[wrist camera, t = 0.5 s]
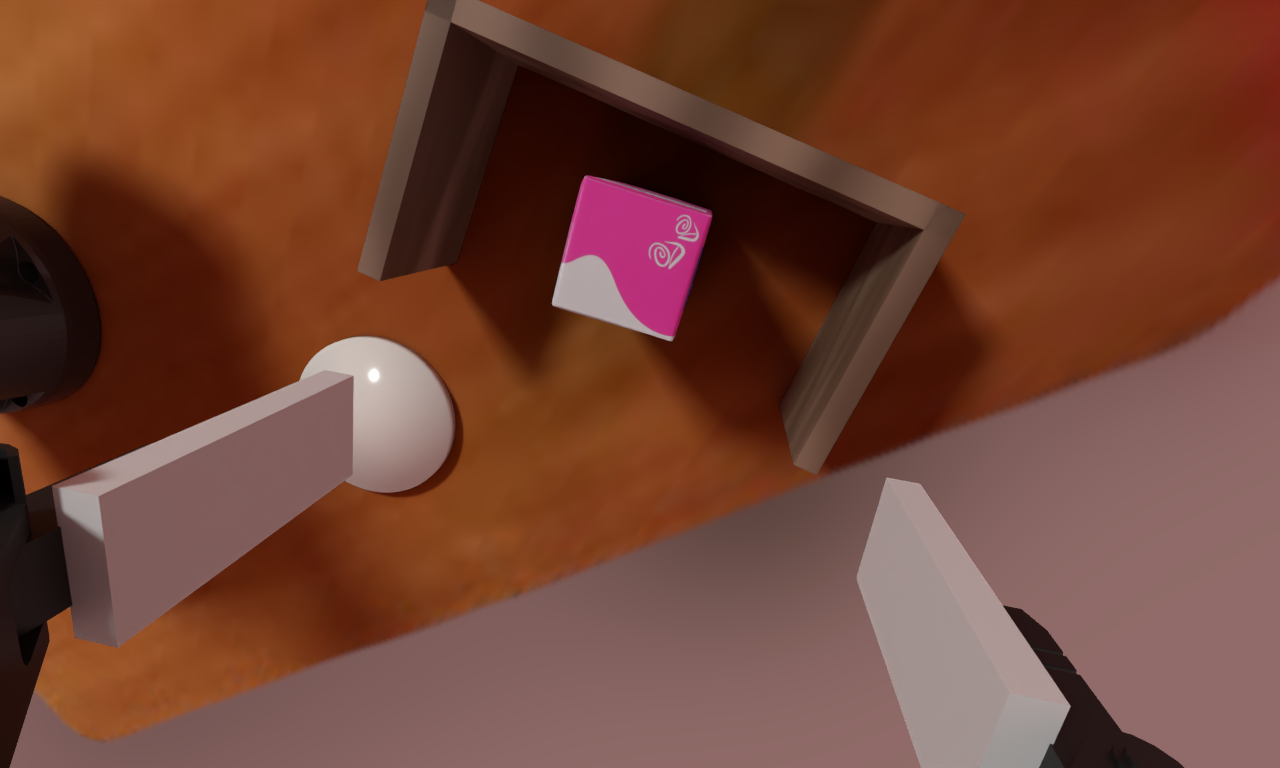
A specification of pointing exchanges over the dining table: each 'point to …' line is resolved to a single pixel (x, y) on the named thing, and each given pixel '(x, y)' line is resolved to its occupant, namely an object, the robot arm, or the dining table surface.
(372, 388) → the pebble
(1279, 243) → the dining table surface
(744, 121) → the cubby
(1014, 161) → the dining table surface
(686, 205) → the supplement box
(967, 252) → the dining table surface
